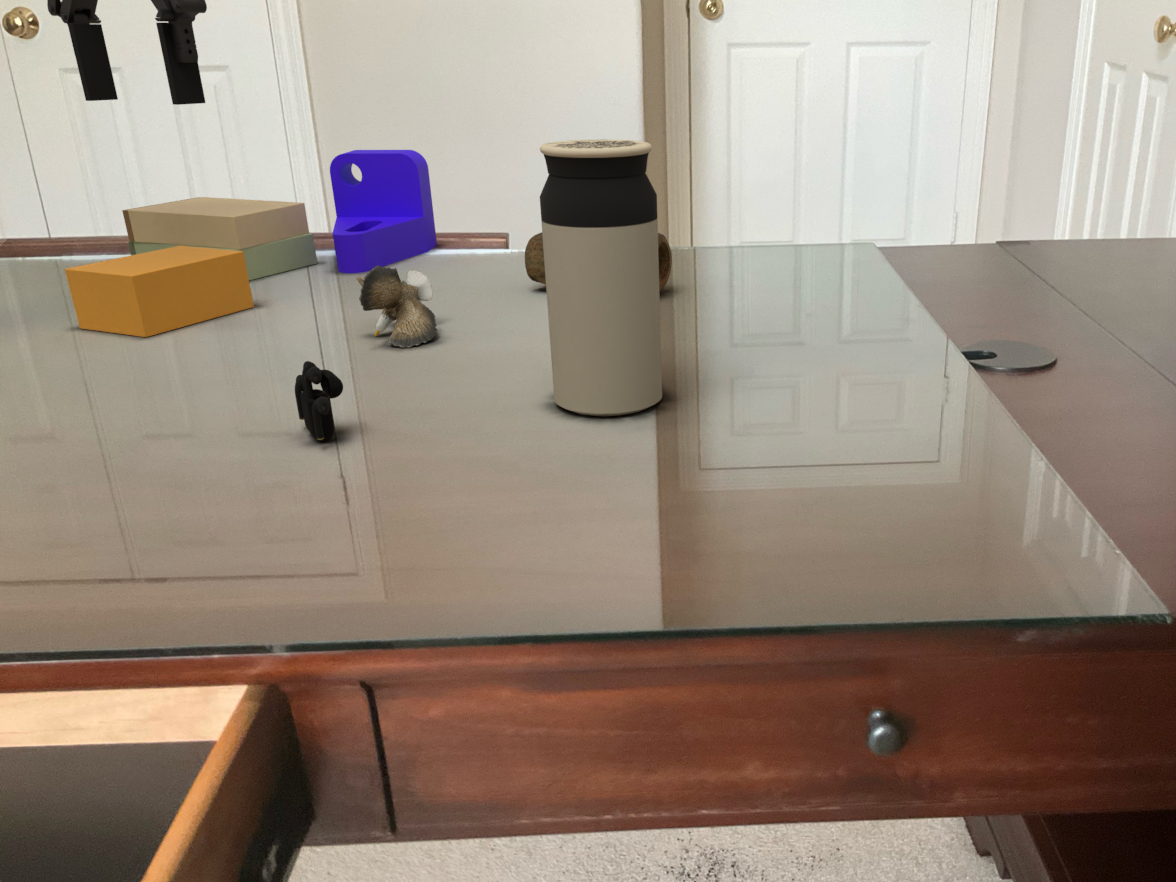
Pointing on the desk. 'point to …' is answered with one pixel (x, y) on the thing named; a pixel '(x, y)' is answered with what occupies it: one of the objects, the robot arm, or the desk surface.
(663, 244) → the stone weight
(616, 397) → the travel mug
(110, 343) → the desk surface
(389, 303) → the eagle figurine
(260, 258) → the beige and green block
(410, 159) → the bracket
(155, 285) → the orange block
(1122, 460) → the desk surface
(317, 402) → the wireless earbuds
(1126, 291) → the desk surface
